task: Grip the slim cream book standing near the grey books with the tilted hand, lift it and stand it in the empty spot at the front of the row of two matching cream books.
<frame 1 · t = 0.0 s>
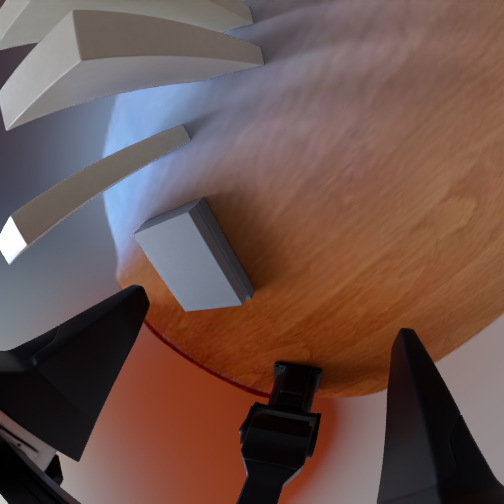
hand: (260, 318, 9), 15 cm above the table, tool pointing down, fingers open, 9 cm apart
cream books: (224, 43, 16), on the table
slim cream book: (165, 144, 22), on the table
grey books: (199, 255, 29), on the table
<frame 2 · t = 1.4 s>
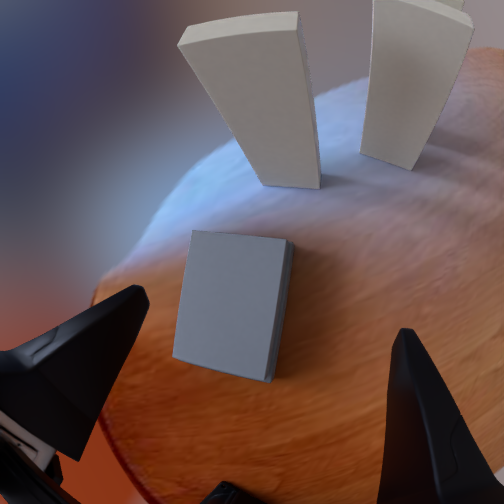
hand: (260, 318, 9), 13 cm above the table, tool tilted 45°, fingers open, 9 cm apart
cream books: (390, 139, 22), on the table
slim cream book: (291, 178, 24), on the table
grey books: (236, 305, 23), on the table
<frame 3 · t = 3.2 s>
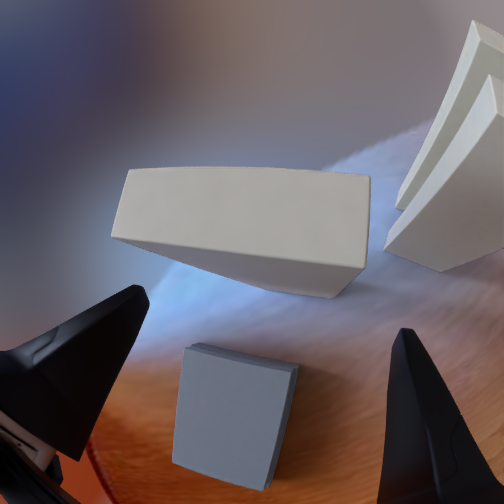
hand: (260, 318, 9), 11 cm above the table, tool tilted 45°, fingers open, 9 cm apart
cream books: (420, 230, 18), on the table
slim cream book: (300, 283, 20), on the table
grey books: (235, 417, 19), on the table
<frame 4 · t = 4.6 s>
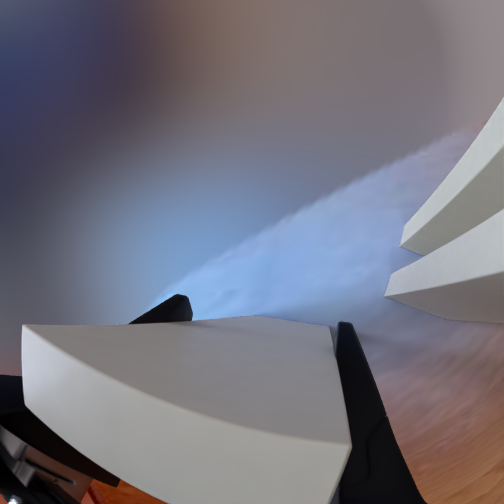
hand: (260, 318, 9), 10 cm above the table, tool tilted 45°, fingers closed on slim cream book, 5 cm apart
cream books: (427, 272, 16), on the table
slim cream book: (289, 332, 18), on the table, touching gripper
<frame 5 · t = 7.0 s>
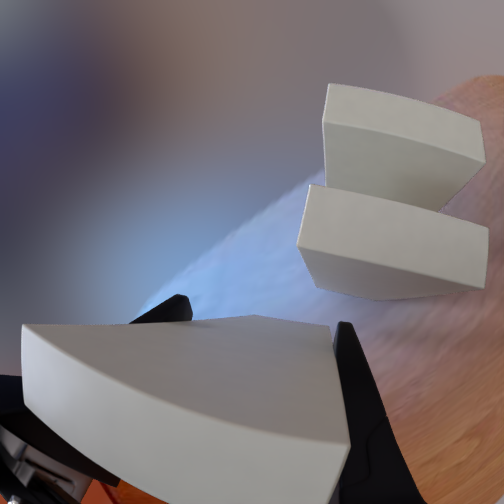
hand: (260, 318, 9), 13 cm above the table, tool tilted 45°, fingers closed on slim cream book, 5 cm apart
cream books: (353, 262, 21), on the table
slim cream book: (289, 332, 18), point 4 cm above the table, touching gripper
when the fingers open (10 cm above the table, at t = 9.4 s): slim cream book stays where it is, on the table.
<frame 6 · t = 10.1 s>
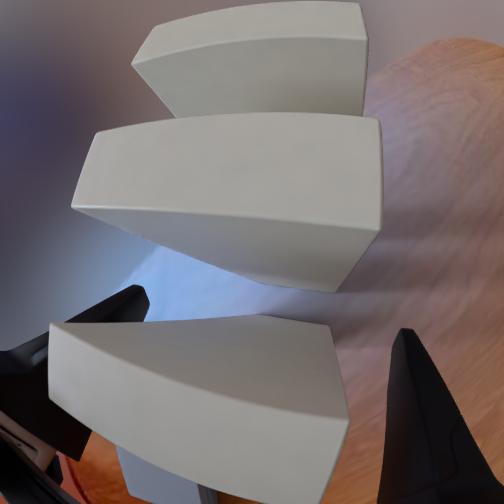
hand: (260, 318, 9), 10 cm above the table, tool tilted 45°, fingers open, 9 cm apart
cream books: (302, 251, 19), on the table
slim cream book: (290, 331, 18), on the table
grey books: (169, 453, 19), on the table
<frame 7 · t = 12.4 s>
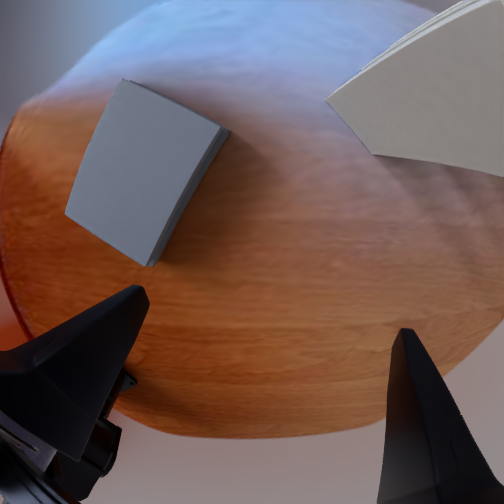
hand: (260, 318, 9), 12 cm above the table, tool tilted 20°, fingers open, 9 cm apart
cream books: (403, 79, 15), on the table
slim cream book: (356, 120, 17), on the table
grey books: (144, 172, 18), on the table
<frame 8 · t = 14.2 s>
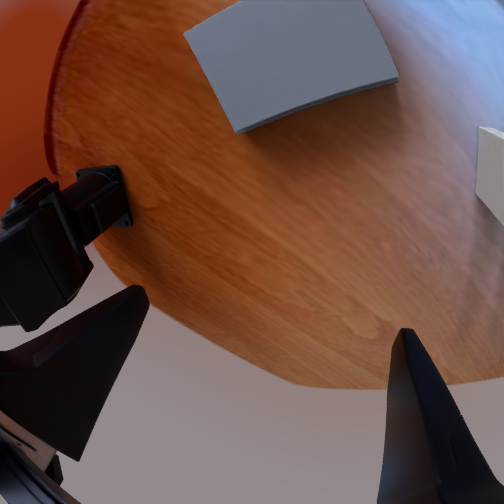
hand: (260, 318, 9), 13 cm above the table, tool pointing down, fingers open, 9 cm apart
slim cream book: (485, 161, 14), on the table
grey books: (291, 50, 14), on the table
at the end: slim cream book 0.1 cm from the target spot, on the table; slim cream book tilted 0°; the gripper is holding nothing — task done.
